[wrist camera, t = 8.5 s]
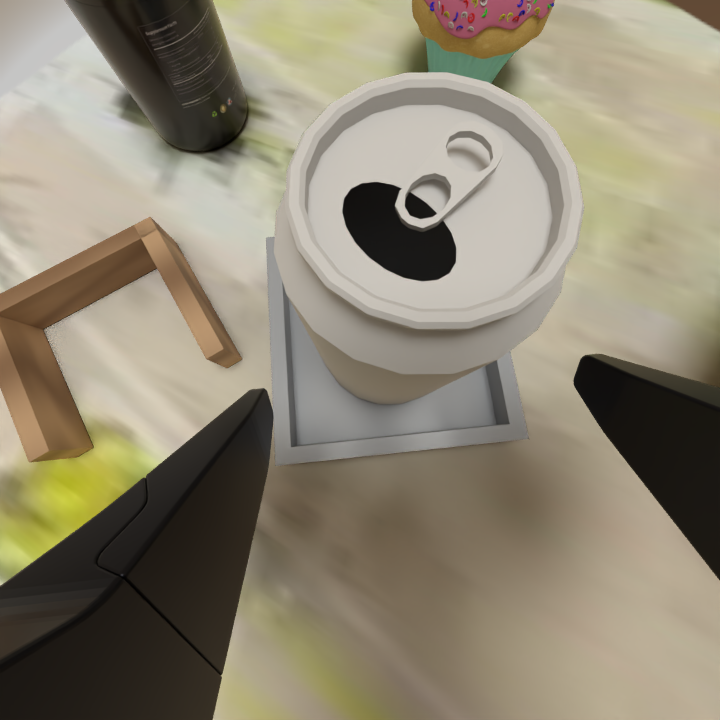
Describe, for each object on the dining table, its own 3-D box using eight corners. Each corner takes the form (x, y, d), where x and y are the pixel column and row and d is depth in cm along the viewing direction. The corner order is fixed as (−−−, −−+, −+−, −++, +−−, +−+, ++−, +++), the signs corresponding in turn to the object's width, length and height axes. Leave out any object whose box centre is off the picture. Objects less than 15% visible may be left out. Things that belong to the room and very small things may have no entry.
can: (295, 341, 18) (171, 179, 6) (384, 259, 19) (423, -13, 7) (388, 434, 17) (456, 453, 5) (477, 340, 18) (700, 176, 6)
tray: (509, 437, 17) (529, 438, 15) (285, 461, 17) (275, 465, 15) (469, 238, 20) (481, 217, 18) (275, 256, 20) (266, 237, 18)
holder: (242, 359, 18) (223, 348, 16) (76, 457, 17) (29, 462, 15) (176, 242, 20) (150, 216, 17) (21, 324, 19) (-30, 309, 16)
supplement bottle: (135, 123, 22) (-123, -225, 10) (202, 65, 23) (39, -307, 11) (204, 173, 21) (5, -146, 9) (270, 110, 22) (168, -245, 10)
